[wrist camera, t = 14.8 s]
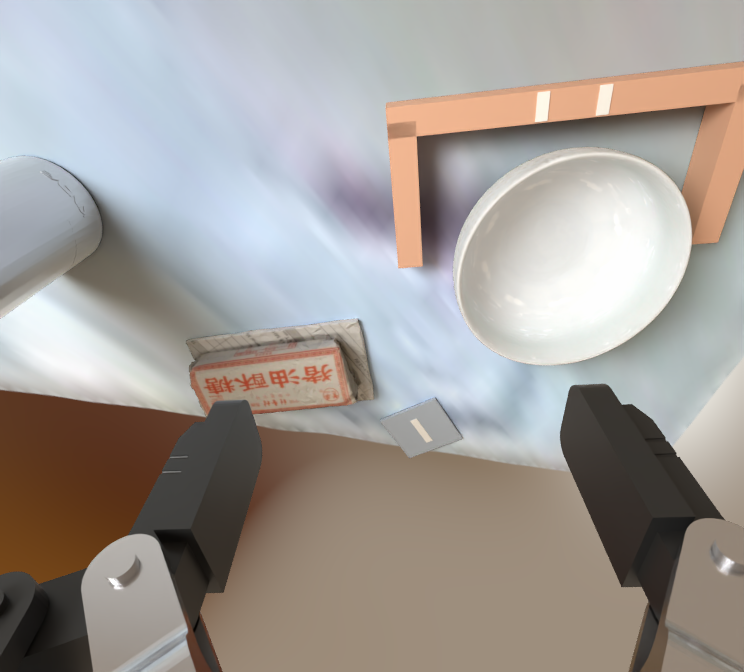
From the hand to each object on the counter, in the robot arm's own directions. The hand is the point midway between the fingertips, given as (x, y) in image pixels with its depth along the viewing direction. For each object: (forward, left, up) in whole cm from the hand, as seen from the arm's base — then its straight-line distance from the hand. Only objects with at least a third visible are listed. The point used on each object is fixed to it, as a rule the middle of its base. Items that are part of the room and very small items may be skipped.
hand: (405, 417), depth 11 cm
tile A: (-12, -27, -29) cm, 41 cm away
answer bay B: (+10, -7, -28) cm, 31 cm away
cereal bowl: (+8, -12, -29) cm, 32 cm away
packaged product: (-20, -12, -29) cm, 38 cm away
